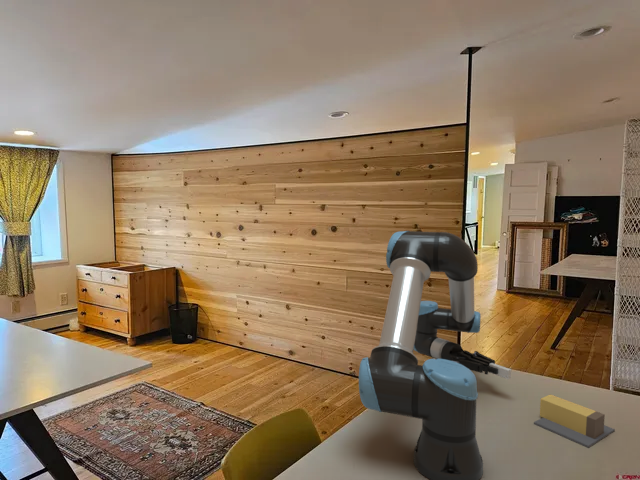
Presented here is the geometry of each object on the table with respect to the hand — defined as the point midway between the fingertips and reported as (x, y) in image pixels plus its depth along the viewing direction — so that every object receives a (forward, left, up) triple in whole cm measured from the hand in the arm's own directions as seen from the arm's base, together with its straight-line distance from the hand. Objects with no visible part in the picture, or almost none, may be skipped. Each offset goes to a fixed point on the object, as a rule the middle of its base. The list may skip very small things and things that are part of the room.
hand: (509, 374), depth 130 cm
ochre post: (0, -11, -5) cm, 12 cm away
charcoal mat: (0, -19, -8) cm, 21 cm away
